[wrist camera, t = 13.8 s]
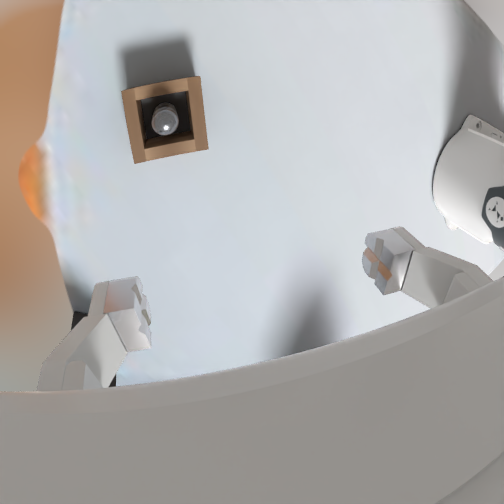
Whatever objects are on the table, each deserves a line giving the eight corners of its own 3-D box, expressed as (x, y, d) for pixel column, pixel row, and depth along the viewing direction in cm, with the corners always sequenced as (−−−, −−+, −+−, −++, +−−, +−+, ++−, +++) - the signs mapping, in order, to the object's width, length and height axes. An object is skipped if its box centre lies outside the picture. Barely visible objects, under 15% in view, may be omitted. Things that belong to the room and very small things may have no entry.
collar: (195, 76, 23) (200, 76, 20) (202, 139, 27) (208, 149, 24) (127, 89, 22) (121, 91, 19) (138, 151, 26) (134, 163, 22)
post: (174, 100, 24) (177, 107, 19) (177, 121, 25) (181, 134, 20) (152, 104, 24) (148, 113, 18) (155, 125, 25) (153, 140, 20)
